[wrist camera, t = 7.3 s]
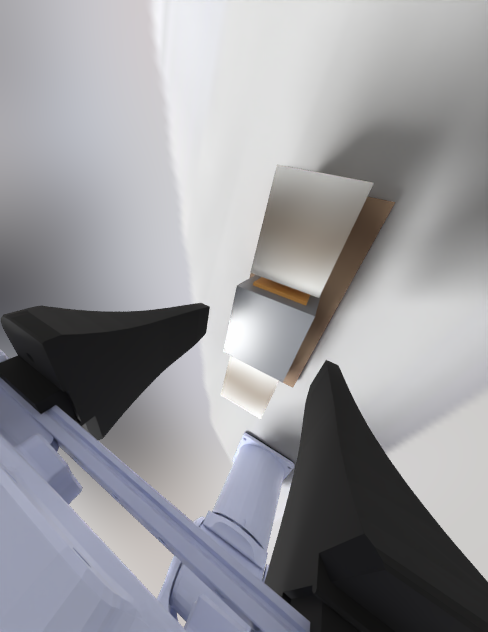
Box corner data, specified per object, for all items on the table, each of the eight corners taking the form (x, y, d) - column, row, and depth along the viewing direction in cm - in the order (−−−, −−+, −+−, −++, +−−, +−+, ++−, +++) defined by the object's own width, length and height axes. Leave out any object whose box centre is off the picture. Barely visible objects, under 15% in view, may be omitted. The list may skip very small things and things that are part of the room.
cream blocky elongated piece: (294, 381, 20) (279, 432, 15) (234, 350, 22) (203, 386, 17) (391, 204, 12) (432, 186, 6) (278, 180, 14) (242, 152, 9)
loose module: (298, 339, 16) (282, 382, 12) (253, 319, 17) (223, 351, 13) (324, 284, 13) (316, 313, 9) (268, 265, 15) (237, 282, 10)
